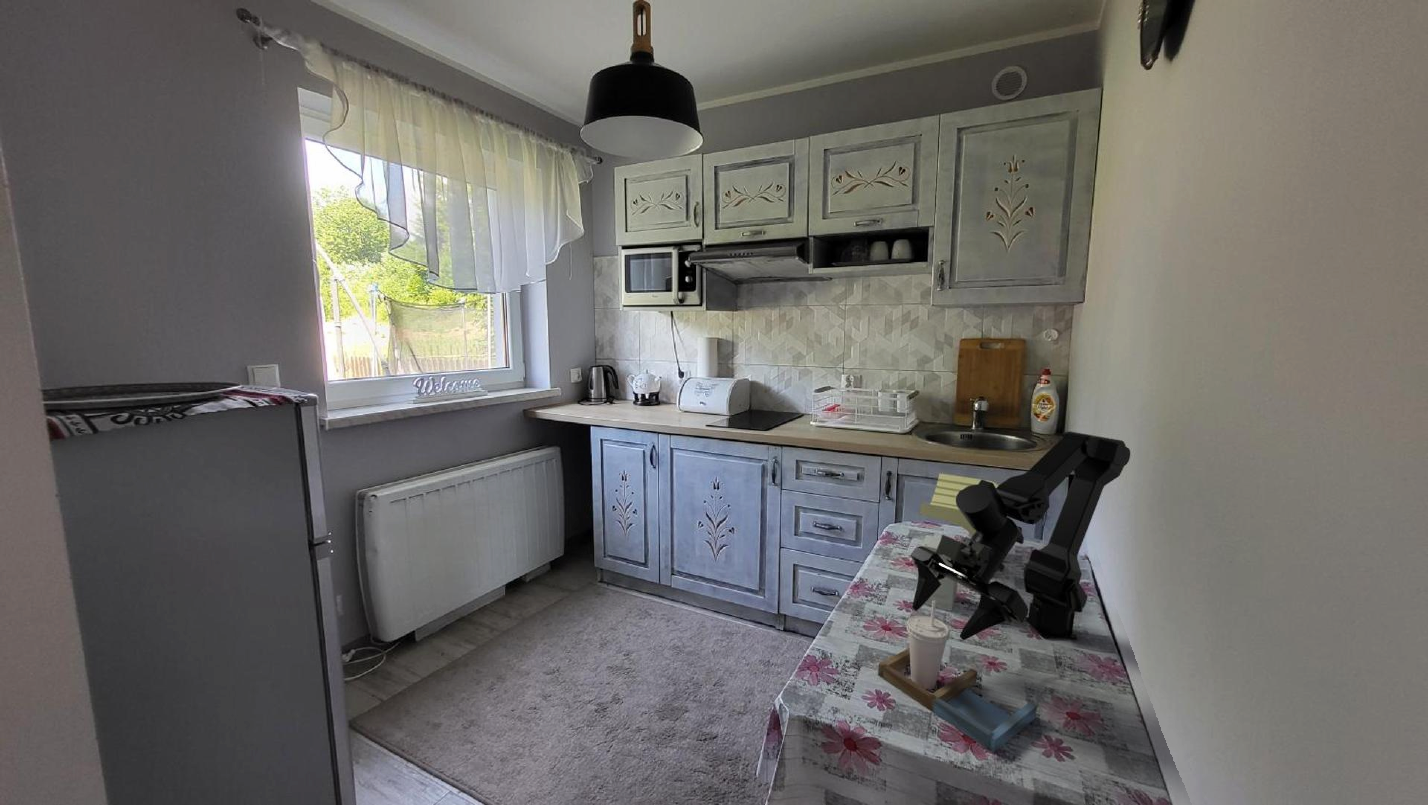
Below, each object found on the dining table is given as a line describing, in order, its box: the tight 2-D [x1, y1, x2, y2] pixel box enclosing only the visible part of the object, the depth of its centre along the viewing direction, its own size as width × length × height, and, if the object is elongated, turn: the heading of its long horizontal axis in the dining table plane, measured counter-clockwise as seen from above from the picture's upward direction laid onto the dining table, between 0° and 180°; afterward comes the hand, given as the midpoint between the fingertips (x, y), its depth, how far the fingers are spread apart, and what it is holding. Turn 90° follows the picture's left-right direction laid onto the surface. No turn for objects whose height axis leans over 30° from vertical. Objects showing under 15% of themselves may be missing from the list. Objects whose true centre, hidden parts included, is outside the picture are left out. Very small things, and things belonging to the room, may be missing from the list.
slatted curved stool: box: [919, 473, 1000, 537], centre depth 129 cm, size 30×16×18 cm, turn 149°
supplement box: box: [915, 534, 959, 612], centre depth 110 cm, size 7×7×13 cm
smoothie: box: [906, 600, 951, 690], centre depth 84 cm, size 6×6×14 cm
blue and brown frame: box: [877, 647, 1038, 754], centre depth 81 cm, size 12×19×2 cm, turn 35°
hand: (936, 623), depth 84 cm, fingers open, 9 cm apart
